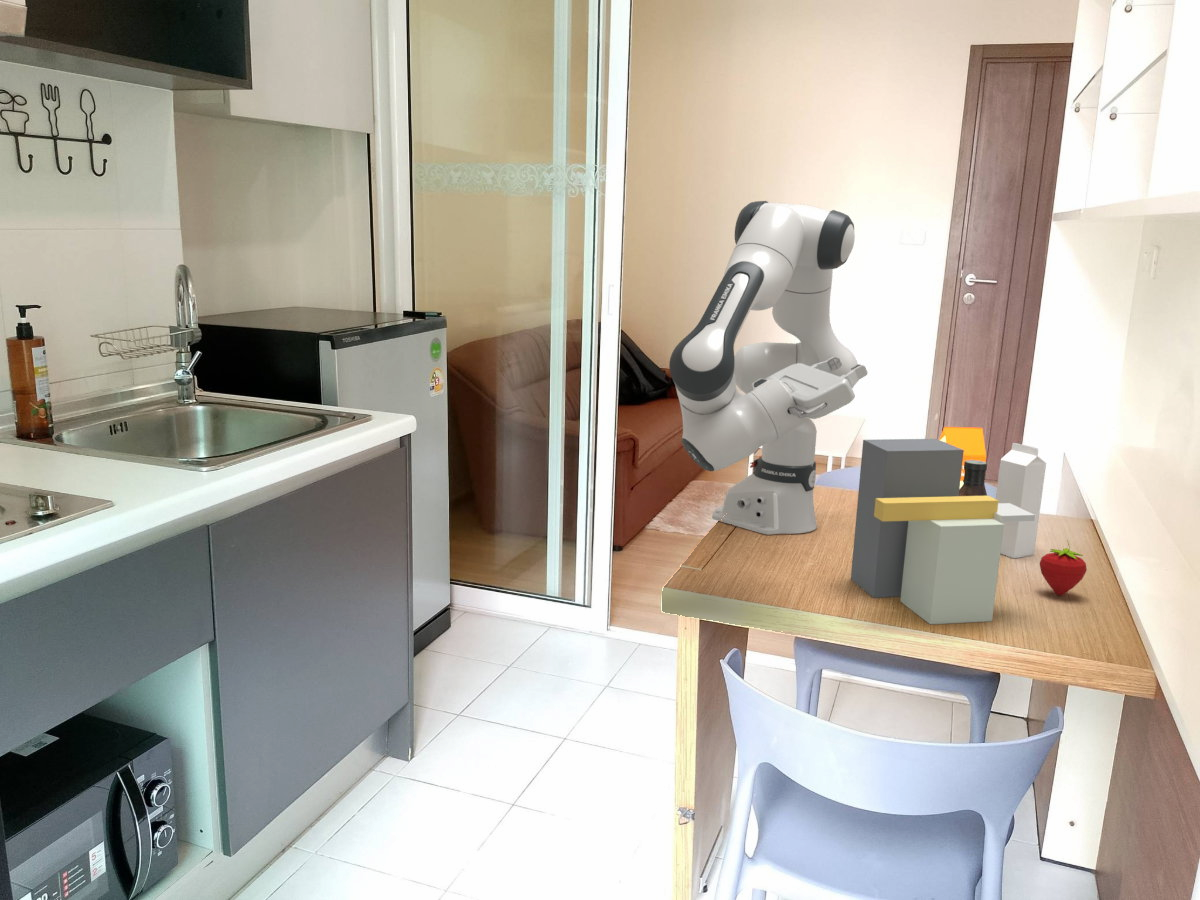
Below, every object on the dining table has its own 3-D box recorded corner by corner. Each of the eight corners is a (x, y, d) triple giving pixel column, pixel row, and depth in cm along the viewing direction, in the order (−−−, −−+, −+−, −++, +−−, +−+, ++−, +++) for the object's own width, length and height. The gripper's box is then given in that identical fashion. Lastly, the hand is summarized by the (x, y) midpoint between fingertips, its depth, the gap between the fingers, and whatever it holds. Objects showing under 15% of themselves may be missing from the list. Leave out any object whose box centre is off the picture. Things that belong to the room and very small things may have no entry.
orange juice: (979, 518, 214) (989, 431, 210) (940, 517, 215) (949, 430, 210) (966, 508, 222) (976, 424, 218) (928, 507, 222) (937, 423, 218)
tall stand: (873, 597, 165) (887, 451, 159) (850, 579, 173) (863, 439, 168) (947, 594, 167) (963, 449, 162) (921, 576, 176) (936, 438, 170)
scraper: (888, 525, 150) (890, 506, 150) (868, 512, 157) (870, 494, 156) (1034, 520, 155) (1036, 503, 154) (1008, 508, 162) (1011, 491, 161)
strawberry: (1033, 586, 172) (1040, 533, 170) (1079, 592, 170) (1087, 538, 168) (1038, 598, 167) (1045, 543, 165) (1085, 603, 165) (1093, 548, 163)
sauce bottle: (985, 568, 181) (997, 467, 177) (950, 565, 182) (962, 464, 178) (979, 557, 187) (990, 459, 183) (945, 554, 189) (956, 457, 184)
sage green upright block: (930, 624, 154) (941, 526, 150) (900, 601, 164) (909, 508, 160) (991, 621, 156) (1004, 524, 152) (958, 598, 166) (969, 507, 162)
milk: (1013, 559, 187) (1027, 450, 182) (988, 549, 193) (1001, 443, 187) (1034, 554, 190) (1049, 447, 185) (1009, 545, 195) (1022, 440, 190)
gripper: (794, 401, 143) (872, 355, 144) (749, 380, 163) (818, 340, 163) (811, 436, 145) (888, 391, 146) (764, 412, 165) (833, 372, 165)
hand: (851, 364), depth 155 cm, fingers open, 8 cm apart
